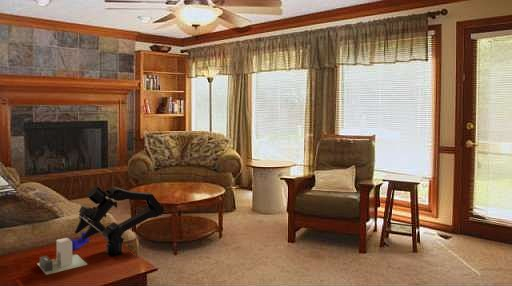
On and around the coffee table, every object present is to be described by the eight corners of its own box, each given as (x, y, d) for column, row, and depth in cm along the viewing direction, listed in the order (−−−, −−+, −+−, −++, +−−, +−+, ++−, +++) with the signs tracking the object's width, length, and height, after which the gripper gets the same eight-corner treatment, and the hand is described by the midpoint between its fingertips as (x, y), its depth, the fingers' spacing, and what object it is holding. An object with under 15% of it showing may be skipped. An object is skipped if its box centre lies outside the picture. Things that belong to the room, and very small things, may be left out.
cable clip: (81, 242, 226) (81, 231, 225) (88, 243, 225) (88, 232, 224) (66, 251, 214) (66, 240, 213) (74, 252, 213) (74, 241, 213)
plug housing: (67, 259, 202) (67, 237, 201) (72, 264, 198) (72, 241, 196) (56, 262, 199) (56, 239, 197) (61, 267, 195) (60, 244, 193)
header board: (76, 256, 209) (76, 246, 208) (87, 266, 199) (87, 256, 198) (36, 265, 197) (36, 254, 196) (46, 276, 187) (46, 265, 186)
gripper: (82, 195, 209) (59, 221, 203) (98, 204, 195) (73, 232, 190) (98, 208, 215) (76, 233, 210) (114, 218, 202) (91, 245, 196)
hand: (79, 236), depth 201 cm, fingers open, 9 cm apart
